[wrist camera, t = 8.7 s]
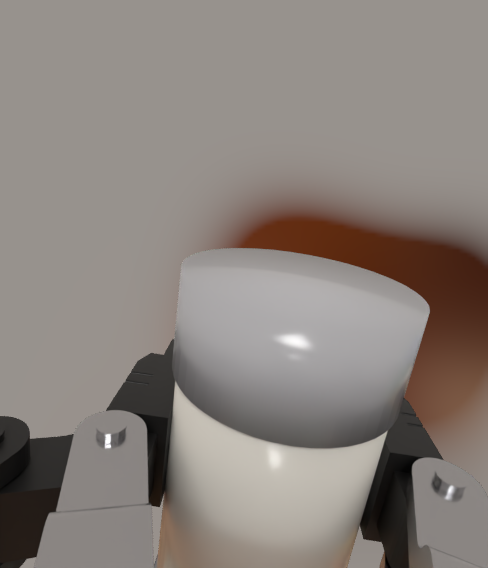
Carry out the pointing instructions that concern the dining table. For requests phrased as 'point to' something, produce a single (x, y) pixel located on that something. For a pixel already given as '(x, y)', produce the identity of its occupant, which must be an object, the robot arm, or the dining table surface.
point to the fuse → (280, 406)
